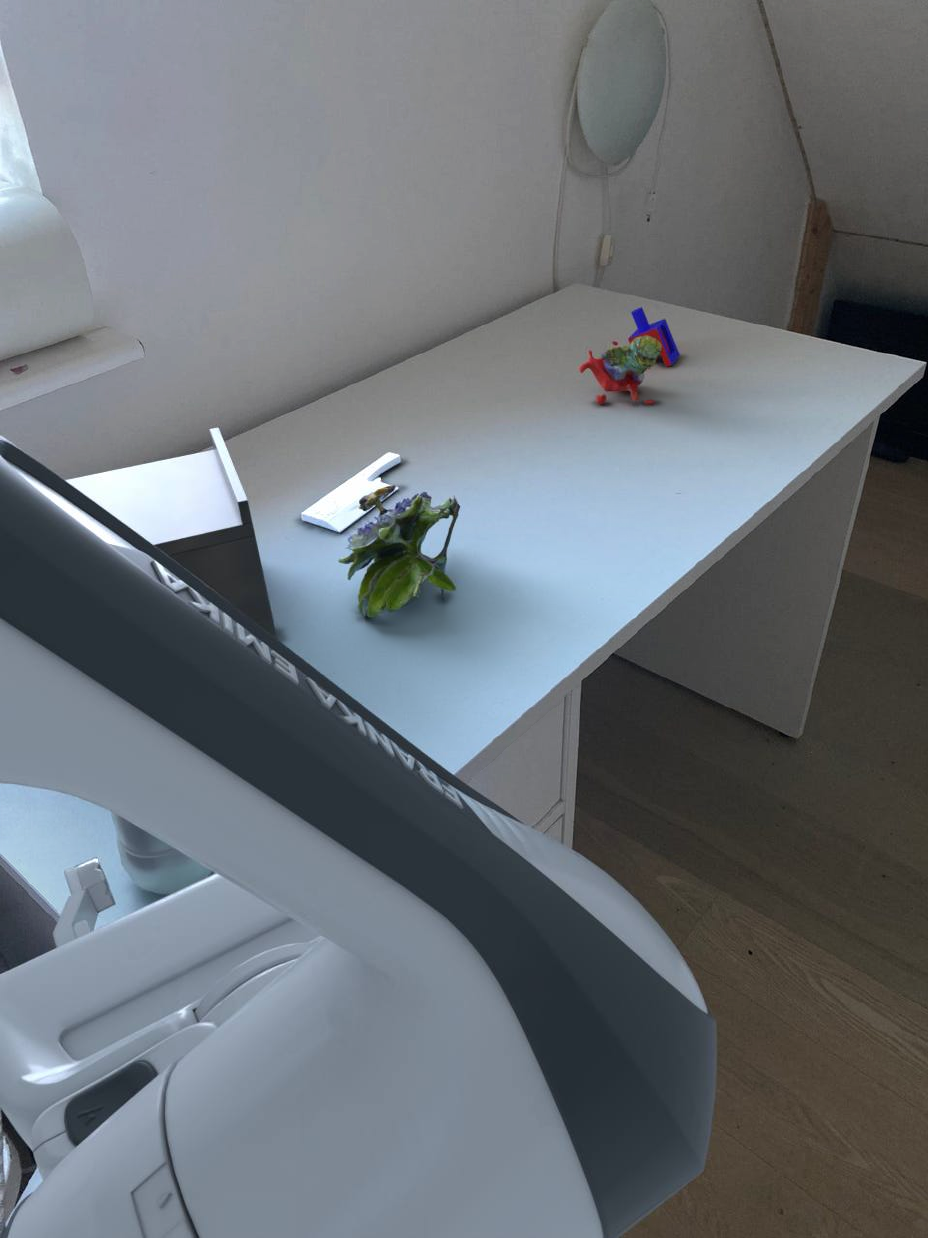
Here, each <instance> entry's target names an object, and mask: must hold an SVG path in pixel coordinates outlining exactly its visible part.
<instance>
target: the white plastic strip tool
mask: <svg viewBox="0 0 928 1238" xmlns="http://www.w3.org/2000/svg"><path fill="white" fill-rule="evenodd" d="M401 462H402V460H401V455H400V454H397V453H394V452H390V451H389V452H387V453H385V454H384V455H383V456H381V457H380V458H378V459H377V460H376V461H374V462H372V463H371V464H370V465H368V466H367V467H365V468H364V469H362V470H361V471H360V472H358V473H357V474H355V475H354V476H353V477H351V478H349V479H348V480H346V481H345V482H343V483H342V484H341V485H339V486H337V487H336V488H334V489H333V490H332V491H330V492H329V493H327V494H326V495H324V496H323V497H321V498H320V499H319V500H318V501H317V502H316V503H314V504H312V505H311V506H309V507H308V508H307V509H305V510H304V511H303V512H301V513H300V517H301V521H304V522H307V523H310V524H313V525H316V526H319V527H321V528H325V529H327V530H331V531H334V532H337V533H341V532H343V531H344V530H345V529H347V528H348V527H350V526H351V525H352V524H353V523H355V522H356V521H358V520H359V519H360V518H361V517H363V516H364V515H365V514H367V513H368V512H370V511H371V510H372V509H373V508H375V507H376V506H375V505H374V506H373V507H372V508H370V509H369V510H367V511H363V510H362V509H359V508H358V507H359V506H360V504H359V500H360V499H361V498H362V497H364V496H365V495H369V494H370V493H371V492H373V493H374V492H375V491H376V490H377V489H380V488H384V487H387V486H391V485H392V484H388V483H386V482H382V479H381V477H379V476H381V474H383V473H385V472H386V471H388V470H390V469H391V468H392V467H394V466H396V465H398V464H400V463H401ZM398 490H399V487H398V486H396V489H395V490H394V491H393V492H392V493H390V494H389V495H388V496H387V497H386V498H384V499H383V500H381V502H383V501H384V500H385V499H387V498H389V497H390V496H391V495H392V494H393V493H395V492H396V491H398Z"/></svg>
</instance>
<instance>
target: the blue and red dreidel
mask: <svg viewBox="0 0 928 1238" xmlns="http://www.w3.org/2000/svg"><path fill="white" fill-rule="evenodd" d="M643 308H644V307H642V306H640V307H638V308H636V309H633V310H632V311H631V312H630V314H631V316H632V318H633V320H634V323H635V325H636V330H635V331H634V332H633V333H632V334H631V335H630V336H629V337H628V338H627V340H628V342H629V345H630V344H631V343H632V341H633V340H634V339H635V338H637V337H641V336H645V335H648V336H651V337H654V338H656V339H657V340H658V341H659V342H660V343H661V345H662V349H661V352H660V354H659V355H658V356H657V357H659V356H661V359H662V361H663V364H664V366H665V368H667V367H670V366H672V365H673V364H674V363H675V361H677V359H678V358H679V357H680V352H679V350H678V347H677V345H676V342H675V340H674V337H673V335H672V333H671V332H672V331H671V330H670V327H669V324H668V323H667V320H666V318H663V319H660V320H658V321H656V322H653V323H649V320H648V317H647V316H646V313H645V311H644V309H643Z"/></svg>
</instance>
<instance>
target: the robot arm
mask: <svg viewBox="0 0 928 1238" xmlns="http://www.w3.org/2000/svg"><path fill="white" fill-rule="evenodd" d="M65 480H66V479H64V478H63V477H61V476H60V475H58V474H57V473H56V472H54V471H53V470H51V469H50V468H48V467H47V466H46V465H44V464H43V463H41V462H40V461H39V460H37V458H34V457H33V456H31V455H30V454H28V453H27V452H25V451H24V450H23V449H22V448H20V447H19V446H17V445H16V444H15V443H13V442H12V441H10V440H8V439H7V438H6V437H5V436H3V435H1V434H0V784H6V785H18V786H23V787H28V788H34V789H41V790H47V791H53V792H56V793H57V792H58V793H61V794H64V795H68V796H72V797H74V798H78V799H81V800H83V801H87V802H89V803H91V804H93V805H96V806H98V807H100V808H102V809H105V810H107V811H109V812H110V813H111V812H113V813H115V814H117V815H119V816H121V817H123V818H124V819H126V820H128V821H129V822H131V823H133V824H134V825H136V826H138V827H139V828H141V829H143V830H144V831H146V832H148V833H149V834H151V835H153V836H155V837H156V838H158V839H160V840H161V841H163V842H165V843H166V844H168V845H170V846H171V847H173V848H175V849H176V850H178V851H180V852H181V853H183V854H185V855H186V856H188V857H190V858H191V859H193V860H195V861H196V862H198V863H200V864H201V865H203V866H205V867H207V868H208V869H210V870H212V873H213V874H210V875H209V876H208V877H207V878H205V879H202V880H200V881H198V882H196V883H194V884H192V885H190V886H188V887H185V888H183V889H181V890H179V891H177V892H175V893H173V894H167V895H166V896H165V897H162V898H160V899H158V900H155V901H154V902H152V903H149V904H146V905H145V906H143V907H141V908H139V909H136V910H135V911H133V912H130V913H128V914H126V915H124V916H122V917H120V918H117V919H115V920H113V921H111V922H109V923H107V924H105V925H103V926H101V927H98V928H95V926H96V923H97V920H98V917H99V913H101V912H104V911H105V910H107V909H110V908H111V907H113V906H115V905H116V901H115V898H114V895H113V892H112V890H111V887H110V883H109V882H108V879H107V877H106V874H105V871H104V870H103V868H102V865H101V863H100V861H99V858H98V857H97V856H95V857H92V858H91V859H88V860H86V861H84V862H81V863H78V864H76V865H73V866H71V867H70V868H67V869H64V872H63V873H64V877H65V880H66V883H67V886H68V889H69V892H70V895H69V896H68V897H67V899H66V902H65V904H64V906H63V909H62V911H61V913H60V916H59V918H58V920H57V922H56V925H55V927H54V930H53V932H52V937H53V940H54V943H55V944H54V945H55V947H56V948H54V949H52V950H51V949H50V951H48V952H45V953H43V954H41V955H39V956H36V957H35V958H32V959H30V960H28V961H26V962H24V963H22V964H20V965H18V966H17V965H16V966H15V967H13V968H11V969H9V970H7V971H4V972H2V973H0V1109H1V1110H2V1112H3V1113H4V1115H5V1116H6V1117H7V1119H8V1121H9V1122H10V1124H11V1125H12V1127H13V1129H14V1130H15V1131H16V1133H17V1134H18V1135H19V1136H20V1137H21V1139H22V1140H23V1142H24V1143H25V1144H26V1145H27V1147H28V1148H29V1149H30V1151H31V1152H32V1153H33V1158H34V1161H35V1164H36V1167H37V1169H38V1173H39V1175H40V1177H41V1179H42V1181H41V1183H40V1184H38V1186H37V1187H36V1188H35V1189H34V1190H33V1191H32V1192H30V1193H29V1194H27V1196H25V1197H24V1198H23V1199H22V1200H21V1201H20V1202H19V1203H18V1205H17V1206H16V1207H15V1209H14V1210H13V1212H12V1214H11V1216H10V1217H9V1220H8V1222H7V1225H6V1227H5V1230H4V1233H3V1236H2V1238H620V1237H621V1236H623V1235H624V1234H625V1233H627V1232H628V1231H629V1230H631V1229H632V1228H633V1227H634V1226H635V1225H636V1224H638V1223H639V1222H641V1221H642V1220H643V1219H645V1218H646V1217H647V1216H648V1215H649V1214H651V1213H652V1212H653V1211H655V1210H656V1209H657V1208H658V1207H659V1206H661V1205H663V1203H665V1202H666V1201H667V1200H668V1199H670V1198H671V1197H672V1196H674V1195H675V1194H676V1193H677V1192H679V1191H680V1190H681V1189H683V1188H684V1187H685V1186H686V1185H687V1184H689V1183H690V1182H691V1181H693V1180H694V1179H696V1178H697V1177H698V1176H699V1175H701V1174H702V1173H704V1171H705V1167H706V1160H707V1156H708V1149H709V1145H710V1139H711V1133H712V1124H713V1116H714V1107H715V1099H716V1087H717V1069H718V1066H717V1065H718V1037H717V1036H718V1033H717V1031H718V1030H717V1019H716V1017H715V1016H714V1014H713V1013H712V1011H711V1010H710V1008H708V1006H707V1004H706V1001H705V999H704V996H703V994H702V990H701V989H700V986H699V984H698V981H697V980H696V978H695V976H694V974H693V972H692V970H691V968H690V967H689V965H688V964H687V962H686V960H685V959H684V957H683V955H682V954H681V953H680V951H679V949H678V948H677V946H676V945H675V943H674V942H673V941H672V939H671V938H670V937H669V936H668V934H667V933H666V931H665V930H664V929H663V927H661V925H660V924H659V923H658V922H657V921H656V919H655V918H654V917H653V916H652V915H651V914H650V912H649V911H648V910H647V909H646V908H645V907H644V906H643V905H642V904H641V903H640V902H639V900H637V899H636V898H635V897H634V895H632V894H631V893H630V892H629V891H628V890H627V889H626V888H624V886H622V885H621V884H620V883H619V882H618V881H617V880H615V878H613V877H612V876H611V875H610V874H609V873H607V871H605V870H604V869H602V868H600V867H599V866H598V865H597V864H596V863H594V862H592V861H591V860H590V859H588V858H586V857H585V856H584V855H582V854H581V853H579V852H577V851H575V850H574V849H572V848H570V847H569V846H567V845H565V844H564V843H562V842H561V841H559V840H557V839H555V838H552V837H551V836H549V835H546V834H545V833H543V832H541V831H539V830H536V829H535V828H532V827H530V826H528V825H527V824H525V823H524V822H522V821H521V820H520V819H518V818H517V817H515V816H514V815H513V814H511V813H510V812H508V811H507V810H505V809H504V808H502V807H501V806H500V805H498V804H497V803H495V802H493V801H492V800H491V799H489V798H488V797H487V796H485V795H483V794H481V792H479V791H477V790H476V789H474V788H473V787H471V786H470V785H469V784H467V783H465V782H464V781H463V780H461V779H460V778H458V777H457V776H456V775H454V774H453V773H451V772H450V771H449V770H448V769H446V768H445V767H444V766H442V765H441V764H439V763H438V762H437V761H436V760H434V759H433V758H431V756H429V755H428V754H426V753H425V752H423V751H422V749H420V748H419V747H418V746H416V745H414V744H413V742H410V740H408V739H407V738H406V737H405V736H403V735H402V734H401V733H399V732H398V731H397V730H395V729H394V728H393V727H391V726H390V725H389V724H388V723H386V722H385V721H383V720H382V719H381V718H380V717H378V715H375V714H374V713H373V712H372V711H371V710H369V709H368V708H366V706H364V705H363V704H362V703H360V702H359V701H357V699H355V698H354V697H353V696H351V695H350V694H349V693H347V692H346V690H344V689H342V688H341V687H340V686H338V685H337V684H336V683H335V682H333V681H332V680H330V679H329V678H328V677H326V675H324V674H323V673H321V672H320V671H319V670H317V669H316V668H315V667H314V666H313V665H311V664H310V663H308V662H307V661H306V660H305V659H303V658H302V657H301V656H299V655H298V654H297V653H296V652H294V651H293V650H292V649H290V648H289V647H288V646H286V645H285V644H284V643H283V642H282V641H281V640H279V639H278V638H277V639H278V640H277V639H276V638H275V637H274V636H272V635H271V634H270V633H268V632H267V631H266V630H265V629H263V628H262V627H261V626H259V625H258V624H257V623H255V622H254V621H253V620H252V619H250V618H249V617H248V616H246V615H245V614H244V613H243V612H241V611H240V610H239V609H237V608H236V607H235V606H234V605H232V604H231V603H230V602H228V601H227V600H226V599H224V598H223V597H222V596H221V595H219V594H218V593H217V592H215V591H214V590H213V589H211V588H210V587H209V586H207V585H206V584H205V583H203V582H202V581H201V580H199V579H198V578H197V577H196V576H194V575H193V574H192V573H190V572H189V571H188V570H186V569H185V568H184V567H182V566H181V565H180V564H178V563H177V562H176V561H174V560H173V559H172V558H170V557H169V556H168V555H166V554H165V553H164V552H162V551H161V550H160V549H158V548H157V547H156V546H154V545H153V544H151V543H150V542H149V541H147V540H146V539H145V538H143V537H142V536H141V535H139V534H138V533H137V532H135V531H134V530H133V529H131V528H130V527H129V526H127V525H126V524H124V523H123V522H122V521H120V520H119V519H118V518H116V517H115V516H113V515H112V514H111V513H109V512H108V511H107V510H105V509H104V508H103V507H101V506H100V505H98V504H97V503H96V502H94V501H93V500H92V499H90V498H89V497H87V496H86V495H85V494H83V493H82V492H81V491H79V490H78V489H76V488H75V487H74V486H72V485H71V484H69V483H68V482H67V481H65Z"/></svg>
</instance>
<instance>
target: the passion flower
mask: <svg viewBox="0 0 928 1238" xmlns="http://www.w3.org/2000/svg"><path fill="white" fill-rule="evenodd" d="M390 485H391V486H387V487H384V488H380V489H377V490H376V491H375V492H374V493H373V492H371V493H370V494H369V495H365V496H364V497H362V498H361V499H360V500H359V504H360V506H359V507H358V508H359V509H362V510H363V511H367V510H369V509H370V508H372V507H373V506H374V505H375V507H376V508H377V509H378V511H379V514H378V517H376V516H373V518H374V520H371V521H369V520H368V521H367V523H366V522H365V524H363V525H362V526H361V527H358V528H356V530H357V531H356V532H357V533H355V534H351V535H349V537H348V538H347V541H348V543H349V544H348V545H347V547H345V550H346V549H348V550H349V551H352V552H351V553H350V554H349V555H347V556H346V557H342V558H339V559H338V561H337V562H338V563H340V564H343V565H349V564H350V567H349V569H348V572H347V580H348V581H351V579H352V577H353V576H354V575H355V574H356V572H359V571H360V570H363V569H365V568H366V567H367V569H366V573H365V574H364V575H363V578H362V580H361V582H360V587H359V592H358V595H357V597H358V605H357V608H358V611H359V613H360V614H361V615H362V617H364V618H366V616H367V617H368V618H374V617H377V616H379V615H381V614H383V613H384V612H396V611H397V610H399V609H401V608H402V607H404V606H405V605H406V604H407V603H408V602H409V601H410V600H411V599H412V597H413V598H415V599H418V598H419V597H420V594H421V588H422V585H423V584H424V581H425V580H427V581H428V582H429V583H431V584H432V585H433V586H434V587H437V588H439V589H440V590H441V598H442V600H445V591H448V592H449V591H450V592H456V590H457V586H455V583H454V582H453V581H452V580H451V578H450V577H449V576H448V575H447V574H446V565H447V562H448V556H447V555H448V554H447V553H448V548H449V545H450V542H451V538H452V535H453V534H452V533H453V531H454V528H455V524H456V522H457V519H458V517H459V512H460V509H461V505H460V504H459V501H458V500H457V498H456V496H455V495H453V496H452V498H451V497H448V498H447V499H446V500H445V501H444V503H442V504H438V505H435V506H433V507H432V506H431V505H432V499H433V498H432V497H433V496H431V495H429V494H428V492H427V491H422V492H421V493H417V494H416V493H415V494H414V495H413V496H412V497H411V499H410V498H409V497H408V498H403V499H402V501H398V502H396V504H395V506H394V507H393V508H391V509H390V508H389V509H387V508H385V507H384V506H383V505H382V501H381V500H383V499H384V498H385V499H387V498H388V497H389V496H390V495H389V494H390V493H392V492H393V491H394V490H395V489H396V487H397V486H396V485H395V484H390ZM393 493H394V492H393ZM393 493H392V494H393ZM388 495H389V496H388ZM387 496H388V497H387ZM386 497H387V498H386ZM385 499H384V500H385ZM384 500H383V501H384ZM373 508H374V507H373ZM373 508H372V509H373ZM369 511H370V510H369ZM450 516H452V519H451V522H450V524H449V527H448V532H447V535H446V538H445V541H444V545H443V548H442V549H441V551H440V552H439V553H438V554H437V555H436V556H435V557H430V556H428V555H425V554H424V553H423V552H422V544H423V542H424V541H425V540H426V536H427V534H428V532H429V530H430V529H431V528H433V526H435V525H436V524H437V523H438V522H439V521H440V520H443V519H446V520H447V519H449V518H450ZM372 561H373V562H372ZM371 562H372V563H371Z"/></svg>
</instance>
